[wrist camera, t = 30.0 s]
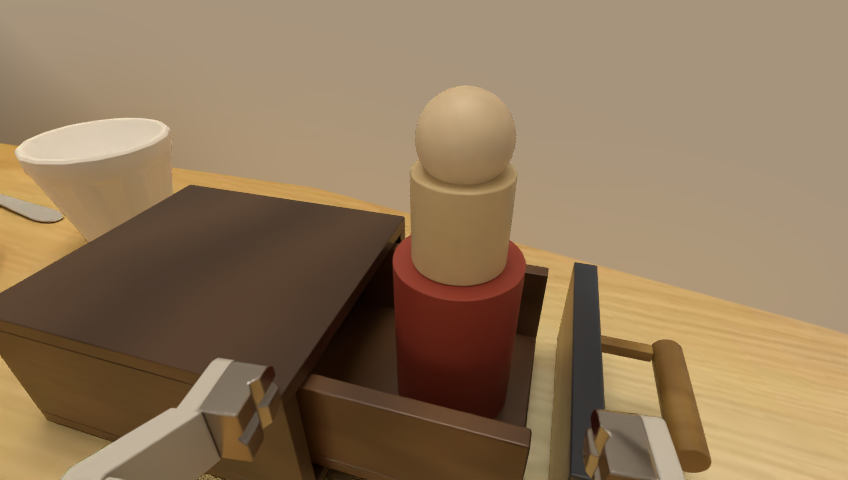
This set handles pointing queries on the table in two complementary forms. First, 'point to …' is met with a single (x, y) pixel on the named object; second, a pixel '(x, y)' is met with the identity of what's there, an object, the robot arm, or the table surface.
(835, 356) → the table surface
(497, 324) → the doll
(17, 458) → the table surface
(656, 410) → the table surface
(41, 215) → the fork
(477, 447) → the drawer
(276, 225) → the cabinet
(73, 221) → the cup
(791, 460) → the table surface
